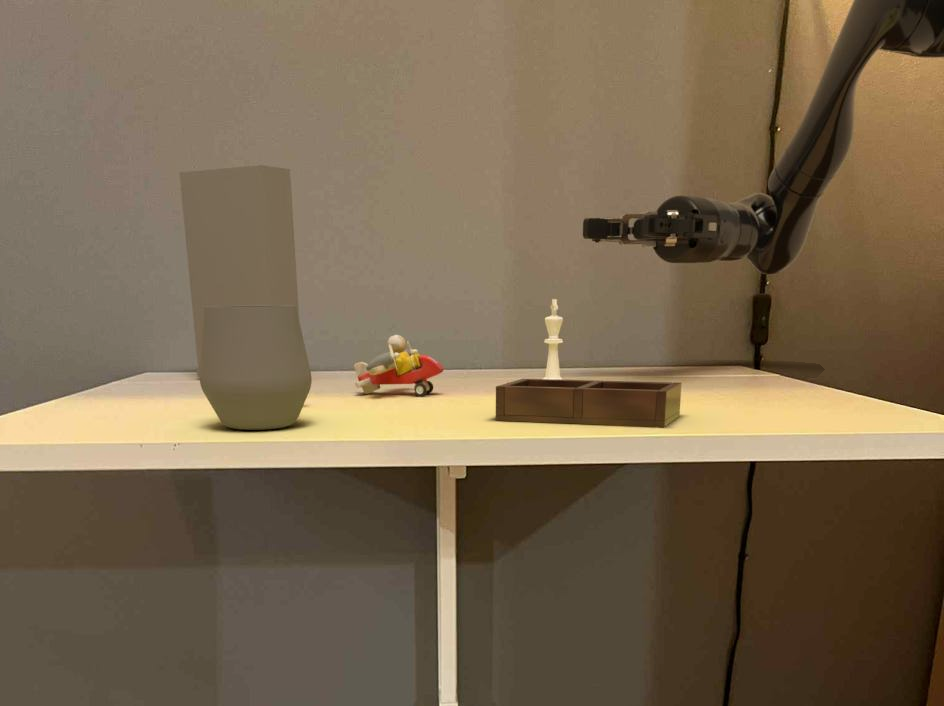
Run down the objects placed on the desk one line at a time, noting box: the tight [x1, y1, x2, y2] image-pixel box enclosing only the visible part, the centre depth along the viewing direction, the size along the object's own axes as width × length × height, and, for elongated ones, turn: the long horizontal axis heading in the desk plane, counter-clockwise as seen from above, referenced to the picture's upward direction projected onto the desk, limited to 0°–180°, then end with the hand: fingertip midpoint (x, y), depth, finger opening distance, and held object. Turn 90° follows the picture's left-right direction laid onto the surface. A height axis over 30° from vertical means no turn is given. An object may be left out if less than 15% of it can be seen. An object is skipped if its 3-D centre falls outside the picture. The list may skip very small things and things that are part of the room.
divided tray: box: [495, 378, 682, 428], centre depth 89 cm, size 15×8×3 cm, turn 69°
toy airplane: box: [353, 334, 444, 397], centre depth 110 cm, size 9×9×6 cm
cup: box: [199, 305, 313, 431], centre depth 84 cm, size 10×9×10 cm
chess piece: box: [541, 298, 564, 380], centre depth 108 cm, size 5×5×10 cm
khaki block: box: [179, 164, 300, 378], centre depth 126 cm, size 14×6×25 cm, turn 59°
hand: (614, 226), depth 110 cm, fingers open, 8 cm apart
